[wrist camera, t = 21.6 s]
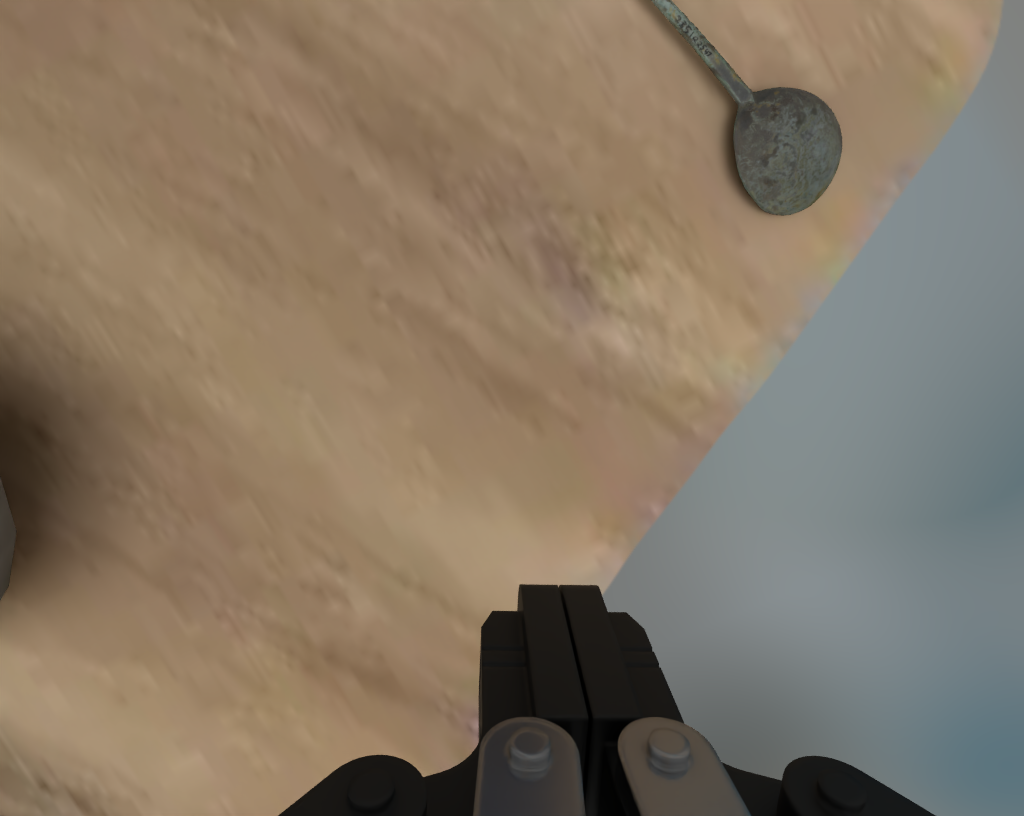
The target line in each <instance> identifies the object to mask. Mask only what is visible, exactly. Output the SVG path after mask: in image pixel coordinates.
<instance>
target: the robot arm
mask: <svg viewBox="0 0 1024 816" xmlns="http://www.w3.org/2000/svg"><path fill="white" fill-rule="evenodd" d="M278 816H935V815H934V814H932V813H930V812H929V811H927V810H925V809H924V808H922V807H920V806H919V805H917V804H915V803H914V802H912V801H910V800H909V799H907V798H905V797H904V796H902V795H900V794H899V793H897V792H895V791H894V790H892V789H890V788H889V787H887V786H885V785H884V784H882V783H880V782H879V781H877V780H875V779H874V778H872V777H870V776H869V775H867V774H865V773H863V772H862V771H860V770H858V769H857V768H855V767H853V766H851V765H849V764H846V763H844V762H841V761H838V760H835V759H832V758H827V757H821V756H805V757H801V758H798V759H796V760H793V761H792V762H791V763H789V764H788V766H787V767H786V768H785V771H784V774H783V778H782V781H781V780H777V779H773V778H769V777H766V776H761V775H758V774H754V773H750V772H746V771H743V770H739V769H736V768H734V767H731V766H729V765H726V764H724V763H722V762H721V760H720V759H719V757H718V755H717V753H716V751H715V750H714V748H713V747H712V745H711V744H710V743H709V742H708V740H707V739H706V738H705V737H704V736H703V735H701V734H700V733H699V732H698V731H696V730H695V729H693V728H692V727H689V726H688V725H686V724H684V722H683V719H682V717H681V714H680V712H679V710H678V707H677V705H676V703H675V700H674V698H673V696H672V693H671V691H670V689H669V686H668V684H667V682H666V679H665V677H664V675H663V672H662V670H661V668H659V663H658V660H657V658H656V656H655V653H654V652H652V646H651V644H650V642H649V639H648V637H647V634H646V632H645V630H644V628H642V627H641V626H640V625H639V624H638V623H637V622H636V621H635V620H634V619H633V618H632V617H630V615H628V614H627V613H626V612H607V609H606V606H605V603H604V600H603V597H602V594H601V592H600V589H599V587H598V586H597V585H560V586H559V588H558V585H525V584H520V585H519V592H518V609H517V611H492V612H491V614H490V615H489V617H488V618H487V620H486V621H485V623H484V624H483V626H482V627H481V650H480V676H479V743H478V745H477V747H476V749H475V750H474V751H473V752H472V754H471V755H470V756H469V757H468V758H466V759H465V760H464V761H463V762H461V763H460V764H458V765H457V766H455V767H453V768H451V769H449V770H446V771H443V772H440V773H437V774H433V775H430V776H426V777H422V775H421V773H420V772H419V771H418V770H417V769H416V768H415V767H414V766H413V765H412V764H410V763H409V762H407V761H405V760H403V759H400V758H397V757H394V756H388V755H371V756H365V757H361V758H358V759H355V760H352V761H350V762H348V763H346V764H344V765H342V766H341V767H339V768H338V769H336V770H335V771H334V772H332V773H331V774H330V775H329V776H327V777H326V778H325V779H324V780H322V781H321V782H320V783H319V784H317V785H316V786H315V787H314V788H312V789H311V790H310V791H309V792H307V793H306V794H305V795H304V796H302V797H301V798H300V799H299V800H297V801H296V802H295V803H294V804H292V805H291V806H290V807H289V808H287V809H286V810H285V811H284V812H282V813H281V814H280V815H278Z"/></svg>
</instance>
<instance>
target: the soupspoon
mask: <svg viewBox="0 0 1024 816" xmlns="http://www.w3.org/2000/svg"><path fill="white" fill-rule="evenodd" d="M651 1H652V2H653V3H654V4H655V6H656V7H657V8H658V9H659V10H660V11H661V12H662V13H663V15H664V16H665V17H666V18H667V19H668V20H669V22H670V23H671V24H672V25H673V26H674V27H675V28H676V29H677V31H678V32H679V33H680V34H681V35H682V36H683V37H684V38H685V39H686V41H687V42H688V43H689V44H690V45H691V46H692V48H693V49H694V50H695V51H696V52H697V54H698V55H699V56H700V57H701V58H702V60H703V61H704V62H705V63H706V65H707V66H708V67H709V69H710V70H711V71H712V72H713V74H714V75H715V76H716V77H717V79H718V80H719V81H720V83H721V84H722V85H723V86H724V88H725V89H726V90H727V91H728V93H729V94H730V95H731V96H732V98H733V99H734V100H735V102H736V103H737V104H738V111H737V116H736V120H735V124H734V135H733V137H734V140H733V143H734V150H735V157H736V165H737V169H738V173H739V176H740V178H741V180H742V183H743V186H744V188H745V189H746V190H747V192H748V193H749V195H750V196H751V197H752V198H753V200H754V201H755V202H756V203H757V204H758V206H760V208H761V209H762V210H764V211H765V212H768V213H772V214H776V215H778V214H779V215H791V214H794V213H797V212H799V211H802V210H804V209H806V208H807V207H809V206H811V205H812V204H813V203H814V202H815V201H816V200H817V199H818V198H819V197H820V196H821V195H822V194H823V193H824V192H825V190H826V189H827V187H828V186H829V184H830V183H831V181H832V179H833V177H834V175H835V173H836V170H837V168H838V165H839V161H840V157H841V152H842V136H841V130H840V126H839V123H838V121H837V119H836V117H835V115H834V113H833V112H832V110H831V109H830V108H829V107H828V105H827V104H826V103H825V102H824V101H822V100H821V99H820V98H818V97H817V96H815V95H813V94H811V93H809V92H807V91H803V90H800V89H795V88H782V87H779V88H771V89H765V90H762V91H757V92H752V91H751V89H749V88H748V87H747V86H746V84H745V83H744V82H743V81H742V80H741V78H740V77H739V76H738V75H737V74H736V73H735V71H734V70H733V69H732V68H731V67H730V65H729V64H728V63H727V62H726V61H725V60H724V58H723V57H722V56H721V55H720V54H719V53H718V51H717V50H716V49H715V48H714V46H713V45H711V44H710V42H709V41H708V40H707V39H706V38H705V36H704V35H702V34H701V32H700V31H699V30H698V28H697V27H695V26H694V24H693V23H692V22H690V21H689V19H688V18H687V16H685V14H684V13H683V12H681V11H680V10H679V8H678V7H677V6H676V5H675V4H674V3H673V2H672V1H671V0H651Z"/></svg>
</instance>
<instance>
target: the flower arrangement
mask: <svg viewBox="0 0 1024 816" xmlns="http://www.w3.org/2000/svg"><path fill="white" fill-rule="evenodd" d="M16 532H17V531H16V528H15V524H14V521H13V518H12V514H11V511H10V508H9V504H8V501H7V498H6V494H5V491H4V488H3V484H2V481H1V478H0V600H1V598H2V597H3V595H4V593H5V591H6V590H7V588H8V586H9V580H10V573H11V566H12V560H13V553H14V546H15V539H16Z"/></svg>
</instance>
